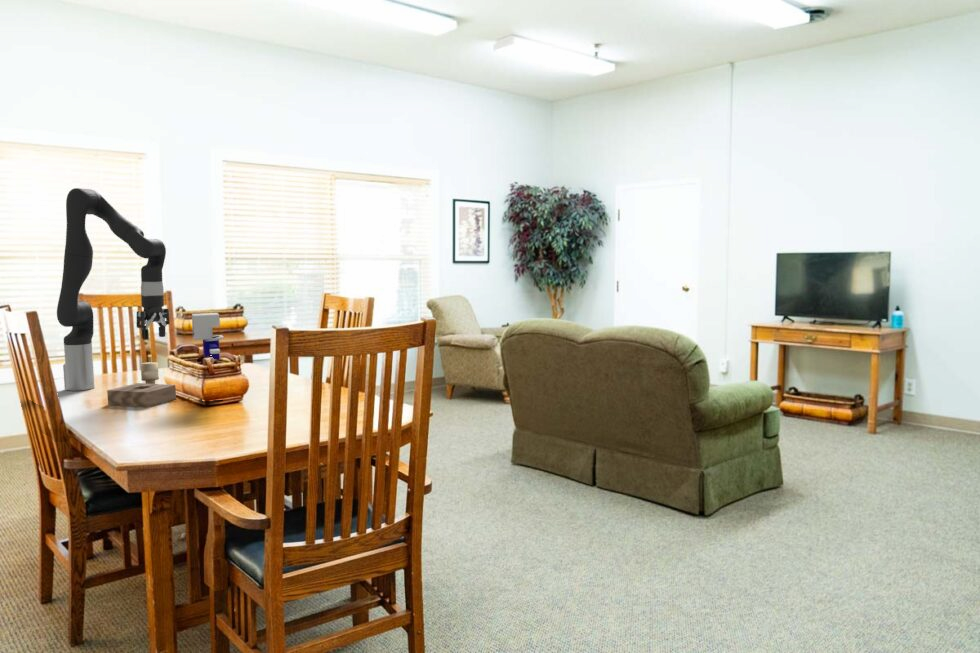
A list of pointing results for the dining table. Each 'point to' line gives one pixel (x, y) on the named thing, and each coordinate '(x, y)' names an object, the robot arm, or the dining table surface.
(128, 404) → the grey wooden block
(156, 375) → the peg
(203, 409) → the dining table surface
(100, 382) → the dining table surface
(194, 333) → the toy
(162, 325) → the robot arm
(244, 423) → the dining table surface
